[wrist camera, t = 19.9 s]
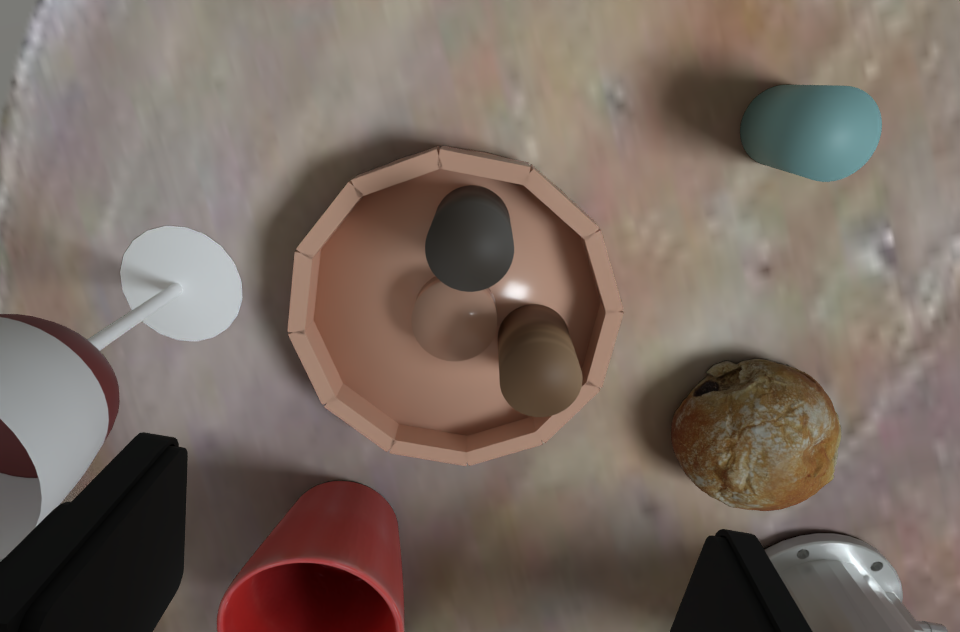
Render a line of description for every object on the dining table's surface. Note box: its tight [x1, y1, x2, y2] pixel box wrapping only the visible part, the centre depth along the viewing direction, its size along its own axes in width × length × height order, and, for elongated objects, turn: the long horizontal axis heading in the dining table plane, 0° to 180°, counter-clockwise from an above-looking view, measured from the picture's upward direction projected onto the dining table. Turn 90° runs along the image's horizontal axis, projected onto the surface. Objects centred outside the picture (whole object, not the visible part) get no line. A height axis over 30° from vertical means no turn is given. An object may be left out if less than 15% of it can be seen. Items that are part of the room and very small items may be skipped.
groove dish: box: [287, 145, 624, 466], centre depth 38 cm, size 19×19×3 cm
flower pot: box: [217, 481, 404, 632], centre depth 41 cm, size 11×11×10 cm
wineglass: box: [0, 226, 243, 559], centre depth 30 cm, size 8×9×20 cm
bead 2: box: [498, 304, 582, 417], centre depth 36 cm, size 4×4×6 cm
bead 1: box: [425, 185, 514, 292], centre depth 34 cm, size 4×4×6 cm
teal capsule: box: [740, 85, 882, 182], centre depth 33 cm, size 4×4×6 cm
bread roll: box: [671, 359, 841, 511], centre depth 40 cm, size 10×10×8 cm
